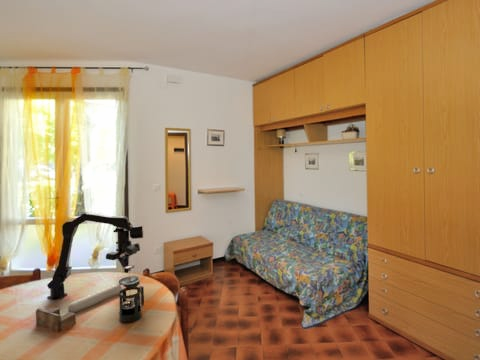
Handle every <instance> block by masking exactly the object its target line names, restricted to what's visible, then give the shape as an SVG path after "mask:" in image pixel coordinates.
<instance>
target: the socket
mask: <svg viewBox="0 0 480 360" xmlns="http://www.w3.org/2000/svg"><path fill="white" fill-rule="evenodd" d="M35 320H36V321H35V322H36V323H35V324H36V326H39V327H41V328H43V329H47V330H50V331H53V332H54V333H59V332H61V331H63V330H66V329H67V328H69V327H70V326H72V325H75V324H76V323H77V322H76V313H72V312H69V311H68V312H67V313H65V314H63V315H61V313H60V308H58V307H51V308H49V309H46V310H45V309H42V308H39V307H38V308H36V311H35Z"/></svg>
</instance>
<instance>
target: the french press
mask: <svg viewBox="0 0 480 360" xmlns="http://www.w3.org/2000/svg"><path fill="white" fill-rule="evenodd" d="M134 268H135V265H131V264H130V265H126V267H124V268H123V269H125V270H127V271H128V276H125V277H123V278H121V279H119V280H118V284H120V286H122V287H124V288H122V290H121V291H119V294H118V297H119V312H118V315H119V318H118V322H119V323H121V324H125V325H127V324H133V323H135V322H138V321H140V320H141V318H142V316H143V314H142V307H144V305H145V293H144V291H145V289H144V286H142V285H140V281H141V277H140V276H137V275H133V276H132V275H131V269H134ZM139 285H140V286H139ZM133 290H135V291H137V292H135V293H134V294H129V295H127V291H129V293H131V291H133ZM129 314H130V315H129Z"/></svg>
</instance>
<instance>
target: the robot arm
mask: <svg viewBox="0 0 480 360" xmlns="http://www.w3.org/2000/svg"><path fill="white" fill-rule="evenodd" d="M86 221H87V222H93V223H101V224H107V225H112V226H113V227H115V229H114V230H113V233H116V234H117V241H115V244H116V245H117V248H116V249H115V251H111V252H108V253H106V254H105V259H106V260H110V261H115V260H118V262H119V263H120V265H121V268H122V269H124V267H126V266H127V263H128V260H129V258H130V257H131V256H133V255H135V254H137V253H138V252H139V251H141V247H140V243H138V242H136V243H134V244H133V243H132V241H131V240H130V239H132V240H134V239H135V240H136V239H144V229H143V227H144V226H143V225H137V226H135V225H134V226H133V224H132V223H131V222H130V219H129V217H128V216H126V215H115V216H111V215H105V214H99V213H91V212H83V213H82V214H81V215H79V216H77V217H76V218H74V219H69V220H68V221H65V222H64V223H63V224H62V225H61V230H62V231H61V233H62V234H61V235H62V237H63V239H62V244H61V249H60V253H59V254H60V255H59V260H58V265H57V266H56V268H55V271H54V273H53V275H52V279H51V281H49V283H48V284H46V286H47V288H48V289H49V291H50V292H49V296H46V297H47V299H49V300H54V301H56V300H59V299H60V298H63V297H65V296H67V295H68V293H66V292H65V284H64V282H66V280H67V279H68V278H69V277H70V276H71V274H72V272H71V271H72V268H73V266H70V263H69V261H70V258H71V253H72V252H71V251H72V247H73V240H74V236H75V235H76V233H77V231H78V228H79V226H80V225H81V224H83V223H84V222H86Z"/></svg>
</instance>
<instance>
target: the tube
mask: <svg viewBox="0 0 480 360" xmlns="http://www.w3.org/2000/svg"><path fill="white" fill-rule="evenodd" d="M122 289H123V288H122V285H120V284H119V283H115V284H114V285H110V286H108V287H106V288H104V289H101V290H99V291H95V292H94V293H93V292H92V293H91V294H89V295H86V296H84V297H82V298H80V299H77V300H75V301H72V302H70V303H69V305H68V306H67V311H68V313H69V312H72V313H75V314H76V313H78V312H81V311H83V310H85V309H87V308H89V307H92V306H94V305H96V304H98V303H101V302H103V301H106V300H108V299H110V298H112V297H115V296H117V295H119V291H121V290H122Z"/></svg>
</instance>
